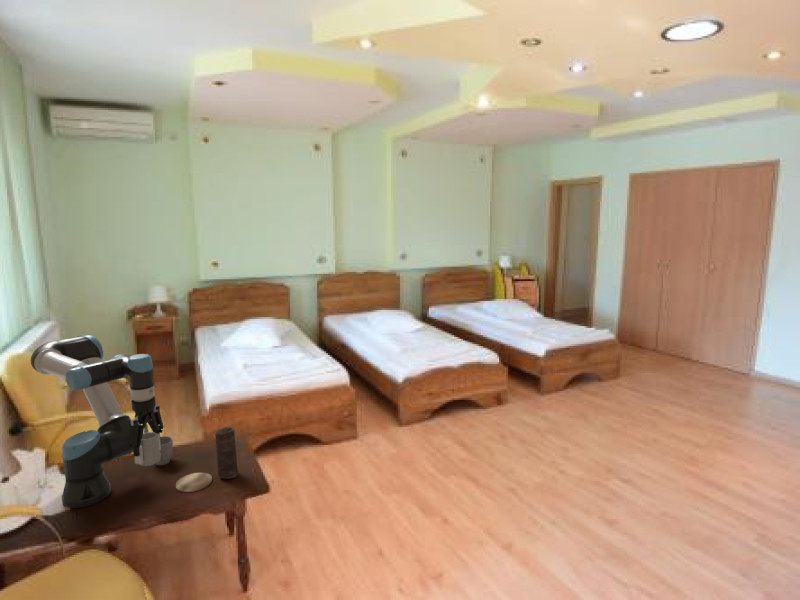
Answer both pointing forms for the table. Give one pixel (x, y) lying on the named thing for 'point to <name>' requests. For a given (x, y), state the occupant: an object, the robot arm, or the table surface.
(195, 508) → the table surface
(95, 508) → the table surface
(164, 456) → the mug
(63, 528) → the table surface
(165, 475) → the table surface
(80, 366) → the robot arm
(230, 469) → the candle
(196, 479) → the coaster
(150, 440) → the mug
